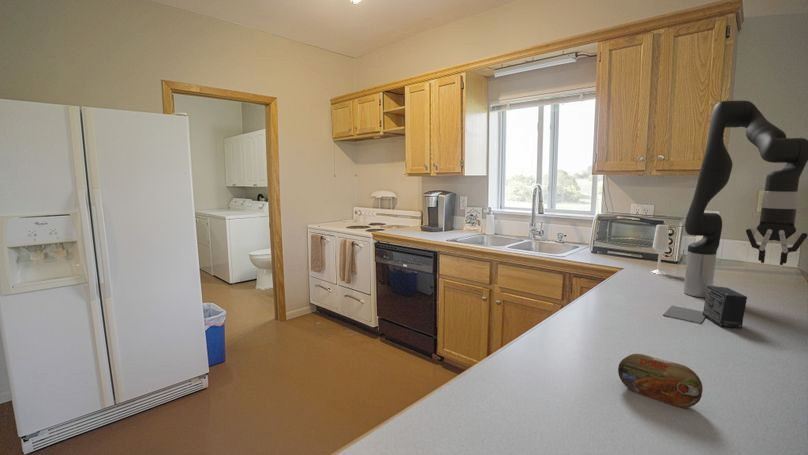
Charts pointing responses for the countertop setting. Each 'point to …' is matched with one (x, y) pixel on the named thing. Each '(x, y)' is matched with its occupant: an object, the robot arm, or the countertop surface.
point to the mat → (685, 314)
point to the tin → (661, 380)
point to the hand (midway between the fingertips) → (771, 263)
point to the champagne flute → (660, 244)
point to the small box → (724, 306)
